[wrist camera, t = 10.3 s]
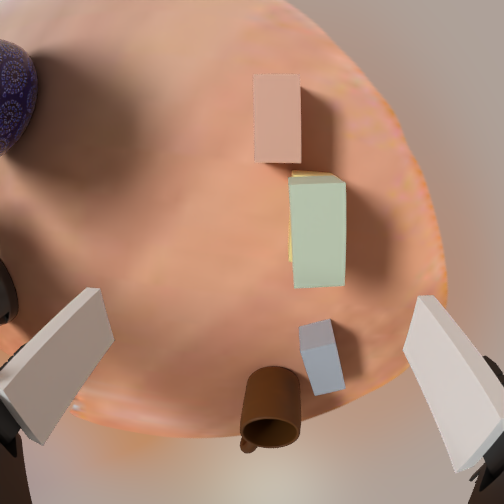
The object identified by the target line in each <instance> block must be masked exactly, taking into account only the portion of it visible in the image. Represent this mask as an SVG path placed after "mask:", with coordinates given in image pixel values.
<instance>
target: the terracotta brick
mask: <svg viewBox="0 0 504 504" xmlns="http://www.w3.org/2000/svg"><path fill="white" fill-rule="evenodd" d="M253 107H254V163H301V95H300V74H253Z"/></svg>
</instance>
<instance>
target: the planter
mask: <svg viewBox="0 0 504 504" xmlns="http://www.w3.org/2000/svg"><path fill="white" fill-rule="evenodd" d="M37 90H38V80H37V72H36V69H35V66H34V63H33V61H32V59H31V58H30V56H29V55H28V54H27V53H26V51H25V50H24V49H23V48H21V47H20V46H18V45H16V44H14V43H12V42H9V41H5V40H2V39H0V156H2V155H3V154H4V153H6V152H7V151H8V150H9V149H10V148H11V147H12V146H13V145H14V144H15V143H16V142H17V141H18V139H19V138H20V137H21V136H22V134H23V133H24V131H25V129H26V128H27V126H28V124H29V121H30V119H31V117H32V114H33V111H34V108H35V104H36V99H37Z"/></svg>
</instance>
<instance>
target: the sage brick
mask: <svg viewBox="0 0 504 504" xmlns="http://www.w3.org/2000/svg"><path fill="white" fill-rule="evenodd" d="M288 185H289V201H290V219H291V239H292V263H293V278H294V288H313V287H332V286H345V263H346V183H345V182H344V181H342V180H340V179H339V178H337V177H336V176H334V175H331V176H302V177H288Z"/></svg>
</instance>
